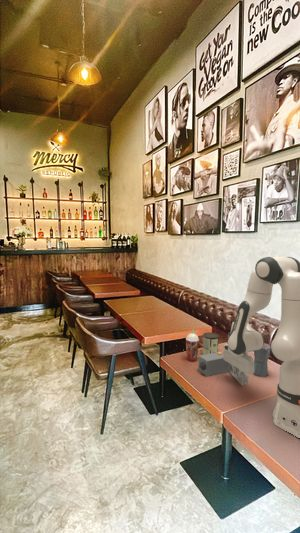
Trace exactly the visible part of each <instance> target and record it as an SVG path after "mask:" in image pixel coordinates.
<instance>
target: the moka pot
mask: <svg viewBox="0 0 300 533" xmlns="http://www.w3.org/2000/svg"><path fill="white" fill-rule="evenodd" d="M271 351H272V350H271V344H268V343H266V342H264V345H263V347H262V349H259V350H256V351H253V357H254V359H253V360H254V373H253V374H252V375H255V376H256V377H260V378H264V377H265V378H266V377H267V376H268V375H269V369H268V361H269V358H270V354H271Z"/></svg>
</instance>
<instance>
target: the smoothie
mask: <svg viewBox="0 0 300 533" xmlns="http://www.w3.org/2000/svg"><path fill="white" fill-rule="evenodd" d="M199 344H200V338H199V336H198V335H197V334H196V333H195V332H194V328H192V331H191V332H190V333H189V334H187V336H186V337H185V350H186V351H185V354H186V360H187V361H189V362H195V361H197V359H198V354H199V352H198V351H199Z"/></svg>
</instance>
